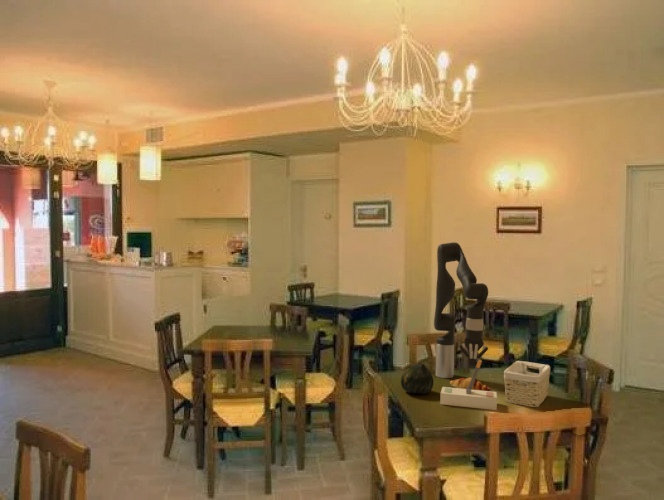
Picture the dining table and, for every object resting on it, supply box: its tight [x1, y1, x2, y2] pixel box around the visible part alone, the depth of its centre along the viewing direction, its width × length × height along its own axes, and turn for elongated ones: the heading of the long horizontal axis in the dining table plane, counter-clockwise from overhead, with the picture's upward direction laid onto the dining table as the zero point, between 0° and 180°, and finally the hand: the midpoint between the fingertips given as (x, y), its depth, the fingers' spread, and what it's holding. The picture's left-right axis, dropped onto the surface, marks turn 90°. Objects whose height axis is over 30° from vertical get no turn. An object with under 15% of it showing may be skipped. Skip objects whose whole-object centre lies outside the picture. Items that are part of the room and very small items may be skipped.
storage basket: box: [503, 360, 551, 408], centre depth 252 cm, size 24×16×15 cm
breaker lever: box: [468, 358, 483, 390], centre depth 243 cm, size 3×2×14 cm, turn 164°
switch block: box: [439, 386, 498, 411], centre depth 249 cm, size 20×24×7 cm
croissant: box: [449, 377, 492, 391], centre depth 264 cm, size 21×10×8 cm, turn 51°
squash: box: [400, 363, 434, 395], centre depth 259 cm, size 14×15×15 cm
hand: (472, 366), depth 243 cm, fingers closed
